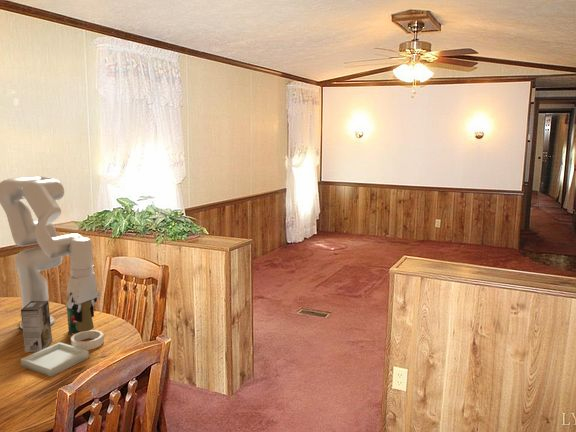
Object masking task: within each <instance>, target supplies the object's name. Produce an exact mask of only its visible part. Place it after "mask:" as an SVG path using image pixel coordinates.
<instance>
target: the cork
mask: <svg viewBox="0 0 576 432" xmlns="http://www.w3.org/2000/svg"><path fill="white" fill-rule="evenodd" d="M76 307H77V306H76ZM90 307H91V301H90V300H89V301H87V302H84V303H81V309H80V311H81V312H82V322H78V321H77V325H76V330H77V331H81V332H84V331H89V330H94V327H95V325H94V321H93V317H92V316H91V311H90Z"/></svg>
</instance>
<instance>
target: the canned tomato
mask: <svg viewBox="0 0 576 432" xmlns="http://www.w3.org/2000/svg"><path fill="white" fill-rule="evenodd" d="M72 305H73V303H72ZM66 315H67V328H68V333H69V334H70V335H74V334H76V333H79V332H81V331H77V330H76V325H77V321H75V318H74V311H73V310H72V309H70V308H68V307H66Z"/></svg>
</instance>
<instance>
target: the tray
mask: <svg viewBox="0 0 576 432" xmlns="http://www.w3.org/2000/svg"><path fill="white" fill-rule="evenodd" d="M89 352H90V351H89V350H84V349H81V348H77V347H74V346H71V344H67V343H65V342H60V341H59V342H56V343H54V344H52V345H50V346H47V347H46V348H45V349H43V350H41V351H38V352H34V353H32V354H30V355H27V356H25V357H22V358H21V359H20V366H21V367H23V368H25V369H28V370H31V371H35V372H37V373H40V374H42V375H45V376H47V377H53V376H55V375H57V374H60V373H62V372H63V371H65V370H67V369H69V368H71V367H73V366H75V365H77V364H79V363H81V362H83V361H85V360H88V359H89V358H90V353H89Z"/></svg>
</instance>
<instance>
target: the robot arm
mask: <svg viewBox="0 0 576 432" xmlns="http://www.w3.org/2000/svg"><path fill="white" fill-rule="evenodd" d="M64 195H65V189H64V186H63V184H62V183H61V181H60V180H58V179H56V178H52V177H46V176H40V175H39V176H26V177H25V176H24V177H14V178H13V177H12V178H8V179H4V180H1V181H0V205H1V208H2V209H3V211H4V213H5V214H6V219H7V221H8V225H9V229H10V233H11V237H12V239H13V242H14V244H15V245H17V247H29V246H33V245H38V246H37V247H31V248H27V249H24V250H21V251H19V252H18V253H17V254H16V256H15V257H14V263H15V267H16V270H17V275H18V278H19V285H20V286H19V287H20V293H21V294H20V297H21V306H22V309H23V308H24V307H25V306H26V305H27V304H28V303H30V302H31V301H48V303H49V304H50V302H49V291H48V290H49V289H48V282H47V281H48V280H47V279H46V277H44V275H43V274H41V272H42V271H45V270H49V269H53V268H56V267H58V266H60V265H61V264H62V262H63V257H64V256H65V257H66V256H69V264H70V276H69V277H68V281H67V288H66V289H67V290H66V291H67V292H66V294H67V295H66V297H67V302H66V304H65V307H66V308H67V307H68V308H70V309H72V310H73V311H74V318H75V321H78V322H82V312H81V311H80V309H81V303H84V302H87V301H89V300H90V301H91V307H90V311H91V316H92V318H94V317H95V310H94V309H95V306H96V303H97V301H98V299H99V298H100V296H101V293H100V291H99V290H98V284H97V283H98V282H97V277H96V274H95V272H94V269H95V268H96V266H95V264H94V257H93V254H94V253H93V241H92V239H91V238H90V237H85V236H82V235H81V234H79V233H76V232H75V233H74V232H73V233H68V234H62V235H61V234H60V235H58V232H57V230H56V226H55V225H54V224H53V222H54V221H56V220H57V219H58V218H60V216H61V215H62V208H61V207H60V206H59V204H58V203H57V201H59V200H62V198H64ZM21 200H26V202H27V203H28V205H29V206H30V208H31V210H32V211H31V210H30V208H29V206H28V205H26V204H25V203H24V202H22V201H21ZM32 212H33V213H34V215H35V216H36V217H37V220H34V218H33V216H32ZM72 303H73V305H72ZM76 306H77V307H76ZM49 313H50V311H49ZM50 314H51V313H50ZM19 317H21V318H22V316H21V313H20V314H19ZM54 323H55V318H54V317H53V316H51V315H50V324H51V326H52V325H53V324H54ZM19 329H21V330H23V326H22V321H21V322H19Z"/></svg>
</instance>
